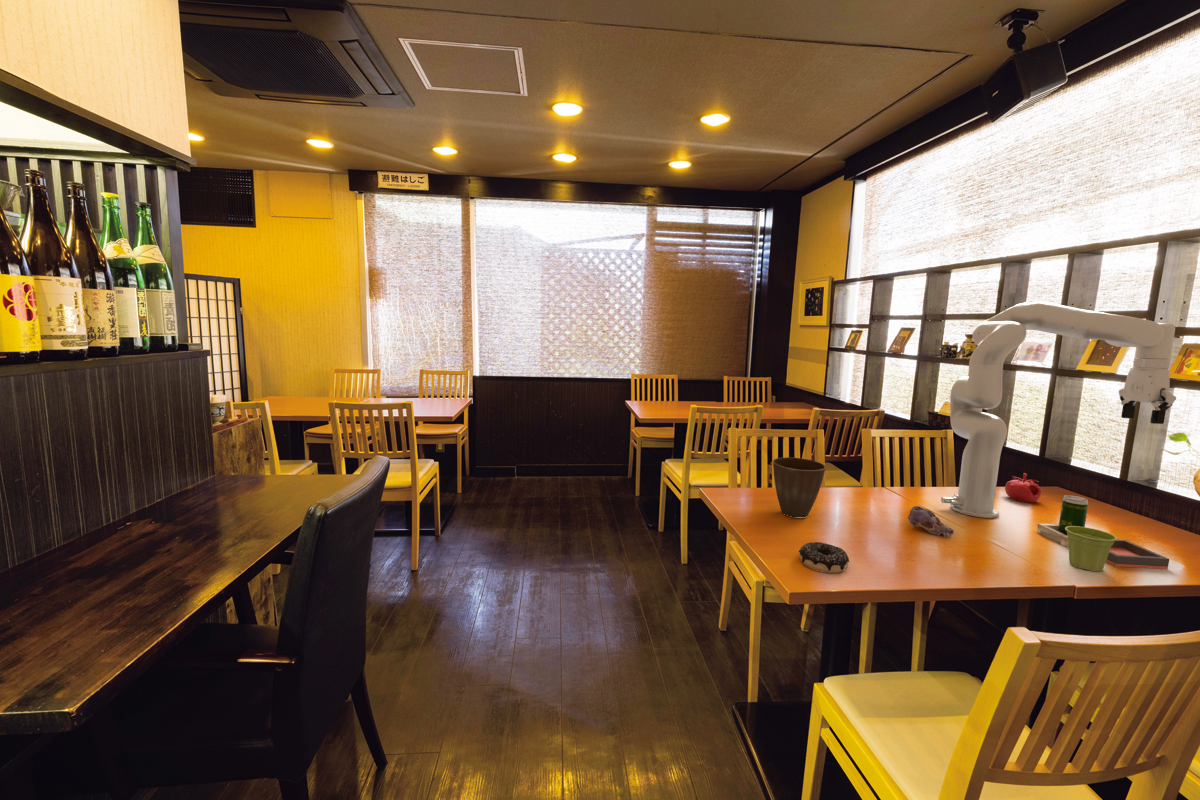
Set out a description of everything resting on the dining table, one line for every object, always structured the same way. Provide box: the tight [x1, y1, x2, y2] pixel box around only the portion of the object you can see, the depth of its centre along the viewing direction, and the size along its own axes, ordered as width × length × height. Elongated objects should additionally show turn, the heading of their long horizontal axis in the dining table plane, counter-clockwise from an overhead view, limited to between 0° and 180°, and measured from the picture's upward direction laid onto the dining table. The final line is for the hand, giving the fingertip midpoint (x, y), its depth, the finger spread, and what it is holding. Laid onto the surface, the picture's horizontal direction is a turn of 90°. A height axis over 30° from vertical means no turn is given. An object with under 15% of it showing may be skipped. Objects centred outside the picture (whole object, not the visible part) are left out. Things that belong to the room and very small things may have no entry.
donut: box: [798, 541, 850, 574], centre depth 128 cm, size 11×12×4 cm
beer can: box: [1058, 494, 1089, 535], centre depth 147 cm, size 5×5×12 cm
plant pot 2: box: [1065, 526, 1118, 572], centre depth 130 cm, size 9×9×9 cm
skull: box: [907, 505, 955, 538], centre depth 152 cm, size 12×8×6 cm, turn 18°
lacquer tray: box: [1105, 538, 1170, 570], centre depth 137 cm, size 12×12×3 cm
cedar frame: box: [1036, 523, 1069, 547], centre depth 148 cm, size 10×10×2 cm
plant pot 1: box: [772, 457, 827, 518], centre depth 161 cm, size 15×15×16 cm
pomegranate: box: [1004, 472, 1043, 504], centre depth 183 cm, size 10×10×9 cm
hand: (1141, 420), depth 162 cm, fingers open, 9 cm apart
